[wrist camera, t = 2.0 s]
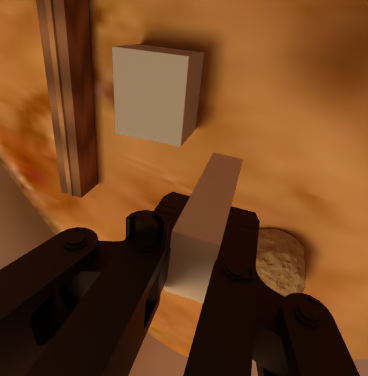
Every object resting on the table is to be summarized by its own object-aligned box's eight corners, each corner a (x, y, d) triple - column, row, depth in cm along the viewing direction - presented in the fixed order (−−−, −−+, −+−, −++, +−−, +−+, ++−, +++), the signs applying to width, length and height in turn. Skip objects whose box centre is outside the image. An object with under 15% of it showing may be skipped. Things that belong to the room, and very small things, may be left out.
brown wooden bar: (53, -109, 25) (15, -133, 21) (82, -107, 24) (49, -131, 21) (79, 178, 40) (60, 193, 37) (97, 183, 40) (80, 198, 36)
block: (140, 44, 29) (112, 46, 24) (204, 52, 28) (188, 56, 23) (140, 118, 33) (115, 133, 28) (195, 128, 32) (180, 146, 27)
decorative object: (238, 215, 40) (199, 271, 36) (297, 216, 31) (254, 291, 27) (273, 255, 43) (240, 312, 39) (336, 267, 34) (302, 342, 30)
